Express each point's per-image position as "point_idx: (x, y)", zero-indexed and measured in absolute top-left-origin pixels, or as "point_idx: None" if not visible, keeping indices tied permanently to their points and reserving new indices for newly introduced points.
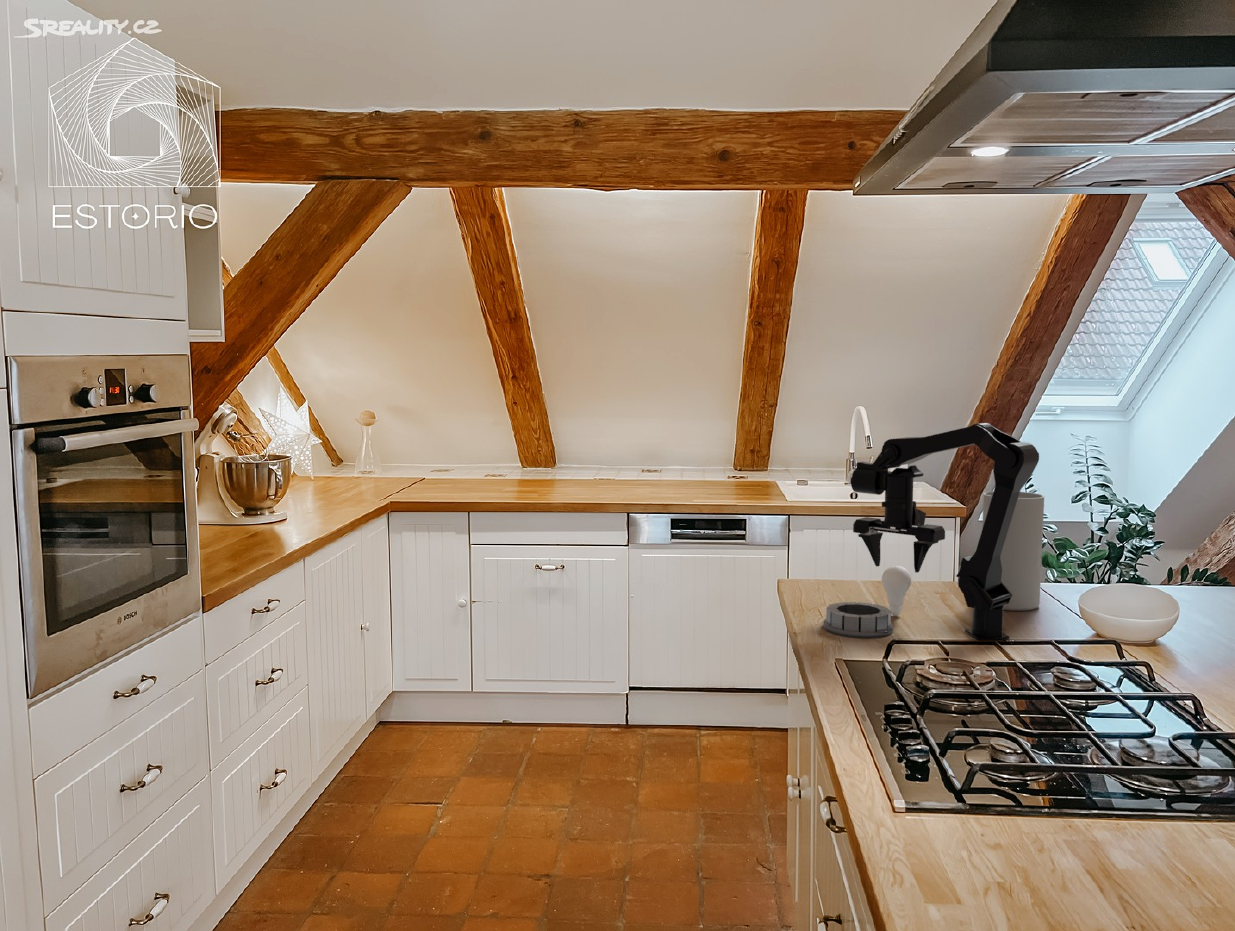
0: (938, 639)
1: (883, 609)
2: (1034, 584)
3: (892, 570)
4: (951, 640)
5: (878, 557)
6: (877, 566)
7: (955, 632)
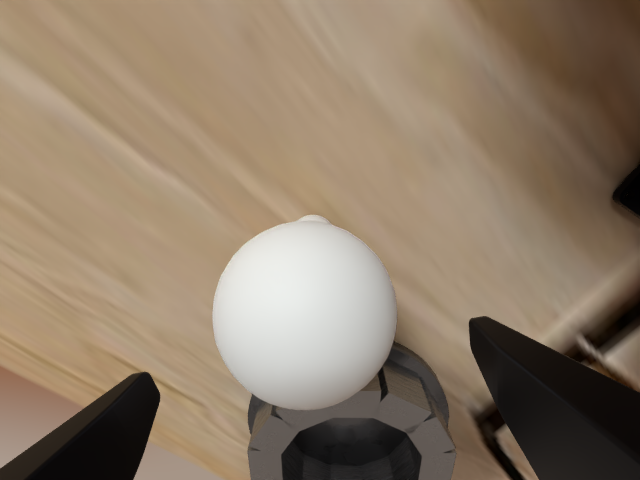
0: (570, 329)
1: (403, 418)
2: None
3: (317, 408)
4: (607, 309)
5: (111, 448)
6: (159, 393)
7: (581, 227)
